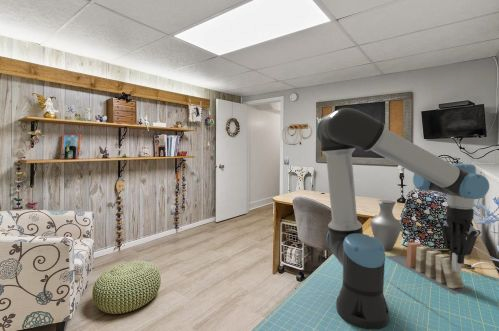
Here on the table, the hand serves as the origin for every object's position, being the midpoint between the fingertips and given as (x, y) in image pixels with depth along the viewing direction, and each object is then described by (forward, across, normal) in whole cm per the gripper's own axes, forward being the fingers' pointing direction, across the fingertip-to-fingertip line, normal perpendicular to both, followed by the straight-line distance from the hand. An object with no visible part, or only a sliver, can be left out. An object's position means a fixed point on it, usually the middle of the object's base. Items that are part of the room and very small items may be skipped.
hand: (456, 270), depth 92 cm
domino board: (+7, +13, 0) cm, 15 cm away
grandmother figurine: (+8, +14, -20) cm, 25 cm away
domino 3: (+6, +9, 0) cm, 11 cm away
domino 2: (+6, +13, 0) cm, 15 cm away
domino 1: (+6, +18, 0) cm, 19 cm away
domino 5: (+6, 0, 0) cm, 6 cm away
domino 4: (+6, +4, 0) cm, 8 cm away
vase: (+8, +40, -5) cm, 41 cm away
